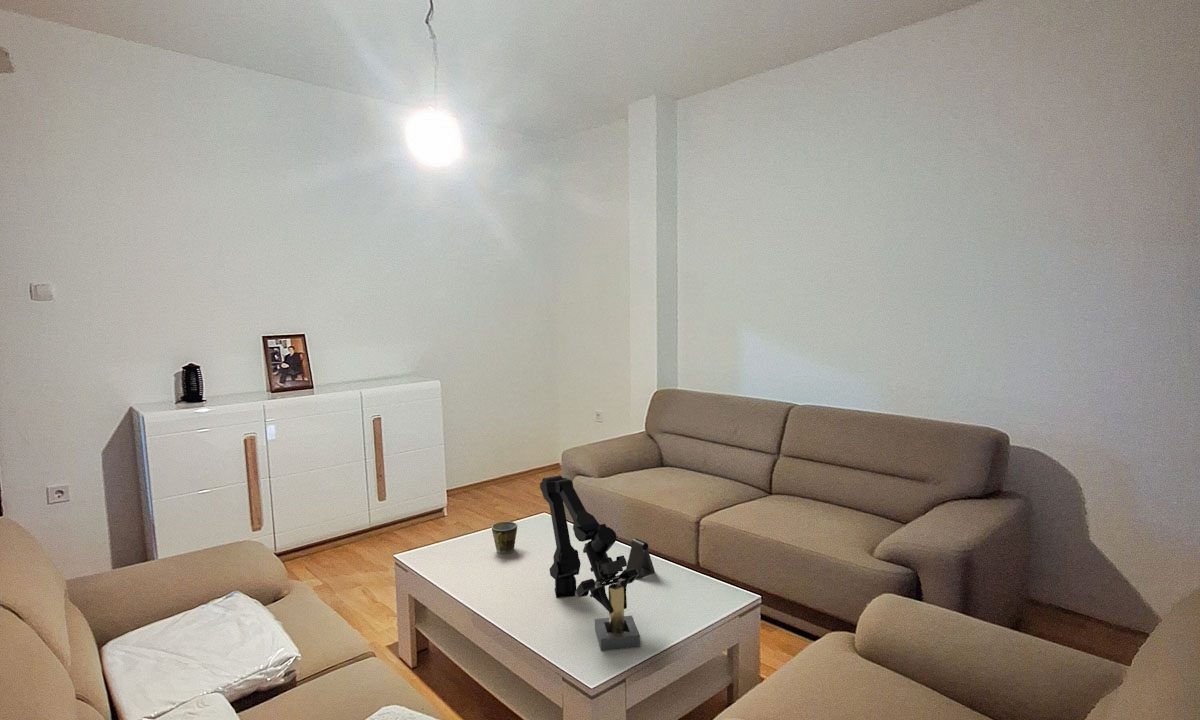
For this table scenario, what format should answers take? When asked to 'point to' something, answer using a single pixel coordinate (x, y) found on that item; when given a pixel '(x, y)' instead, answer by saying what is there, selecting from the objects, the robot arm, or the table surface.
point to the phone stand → (640, 558)
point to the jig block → (617, 635)
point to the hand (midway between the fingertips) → (618, 610)
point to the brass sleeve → (616, 608)
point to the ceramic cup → (504, 536)
